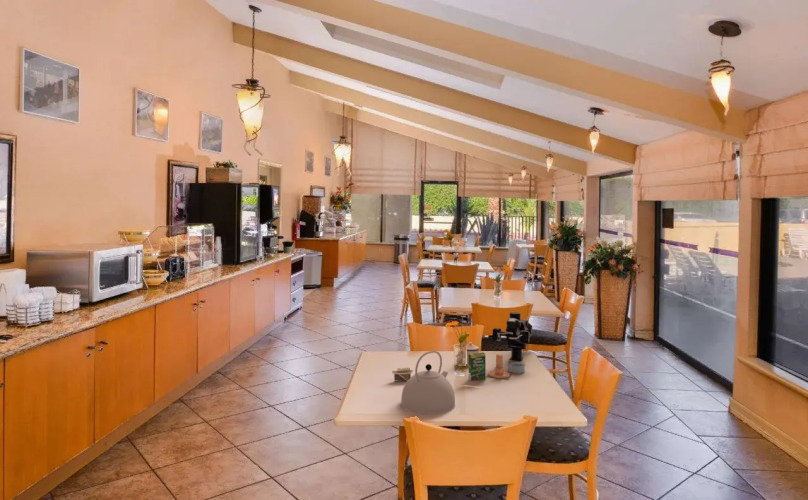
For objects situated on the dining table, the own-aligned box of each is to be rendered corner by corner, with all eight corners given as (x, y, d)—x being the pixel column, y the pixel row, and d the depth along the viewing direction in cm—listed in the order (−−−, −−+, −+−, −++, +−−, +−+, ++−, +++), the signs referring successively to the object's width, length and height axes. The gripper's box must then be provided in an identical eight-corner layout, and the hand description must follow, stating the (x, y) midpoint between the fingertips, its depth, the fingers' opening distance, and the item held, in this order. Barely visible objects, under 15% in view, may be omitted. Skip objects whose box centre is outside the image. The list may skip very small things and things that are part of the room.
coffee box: (470, 382, 272) (470, 354, 271) (467, 380, 275) (468, 353, 274) (485, 380, 274) (486, 353, 273) (483, 378, 277) (483, 352, 276)
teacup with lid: (480, 363, 305) (481, 341, 304) (475, 367, 296) (476, 345, 296) (459, 360, 310) (459, 339, 309) (453, 364, 301) (454, 342, 301)
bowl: (510, 369, 293) (510, 362, 293) (525, 371, 290) (525, 363, 290) (507, 373, 286) (507, 365, 286) (522, 375, 283) (523, 367, 283)
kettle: (426, 390, 259) (426, 341, 257) (468, 401, 245) (469, 349, 243) (390, 405, 240) (390, 352, 238) (433, 418, 225) (434, 361, 224)
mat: (490, 372, 288) (490, 371, 288) (512, 375, 284) (512, 373, 284) (485, 378, 278) (485, 377, 278) (507, 381, 273) (507, 380, 273)
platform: (424, 384, 269) (424, 370, 268) (386, 387, 265) (387, 373, 264) (417, 377, 281) (418, 363, 280) (381, 379, 276) (381, 366, 276)
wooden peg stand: (491, 371, 287) (491, 351, 286) (511, 374, 283) (511, 353, 283) (486, 377, 278) (486, 356, 277) (507, 379, 274) (507, 358, 273)
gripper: (496, 316, 306) (489, 321, 291) (531, 319, 299) (526, 324, 284) (496, 336, 307) (489, 343, 292) (531, 340, 300) (525, 346, 285)
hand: (507, 339), depth 289 cm, fingers open, 9 cm apart
